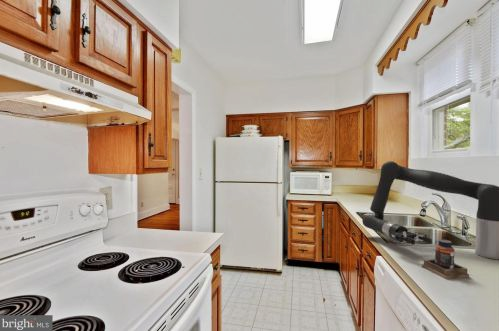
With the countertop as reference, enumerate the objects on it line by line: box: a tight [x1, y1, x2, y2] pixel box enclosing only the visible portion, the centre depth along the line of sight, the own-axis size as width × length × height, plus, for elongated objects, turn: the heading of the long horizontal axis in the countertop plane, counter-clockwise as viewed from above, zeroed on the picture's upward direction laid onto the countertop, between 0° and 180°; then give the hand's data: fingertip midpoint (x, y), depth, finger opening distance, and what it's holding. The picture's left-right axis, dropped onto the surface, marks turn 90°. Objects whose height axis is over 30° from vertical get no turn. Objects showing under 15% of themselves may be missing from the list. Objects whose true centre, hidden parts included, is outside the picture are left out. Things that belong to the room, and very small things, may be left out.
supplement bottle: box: [434, 239, 455, 269], centre depth 96 cm, size 6×6×11 cm
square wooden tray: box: [421, 258, 470, 280], centre depth 96 cm, size 10×10×3 cm
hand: (422, 241), depth 106 cm, fingers open, 8 cm apart
